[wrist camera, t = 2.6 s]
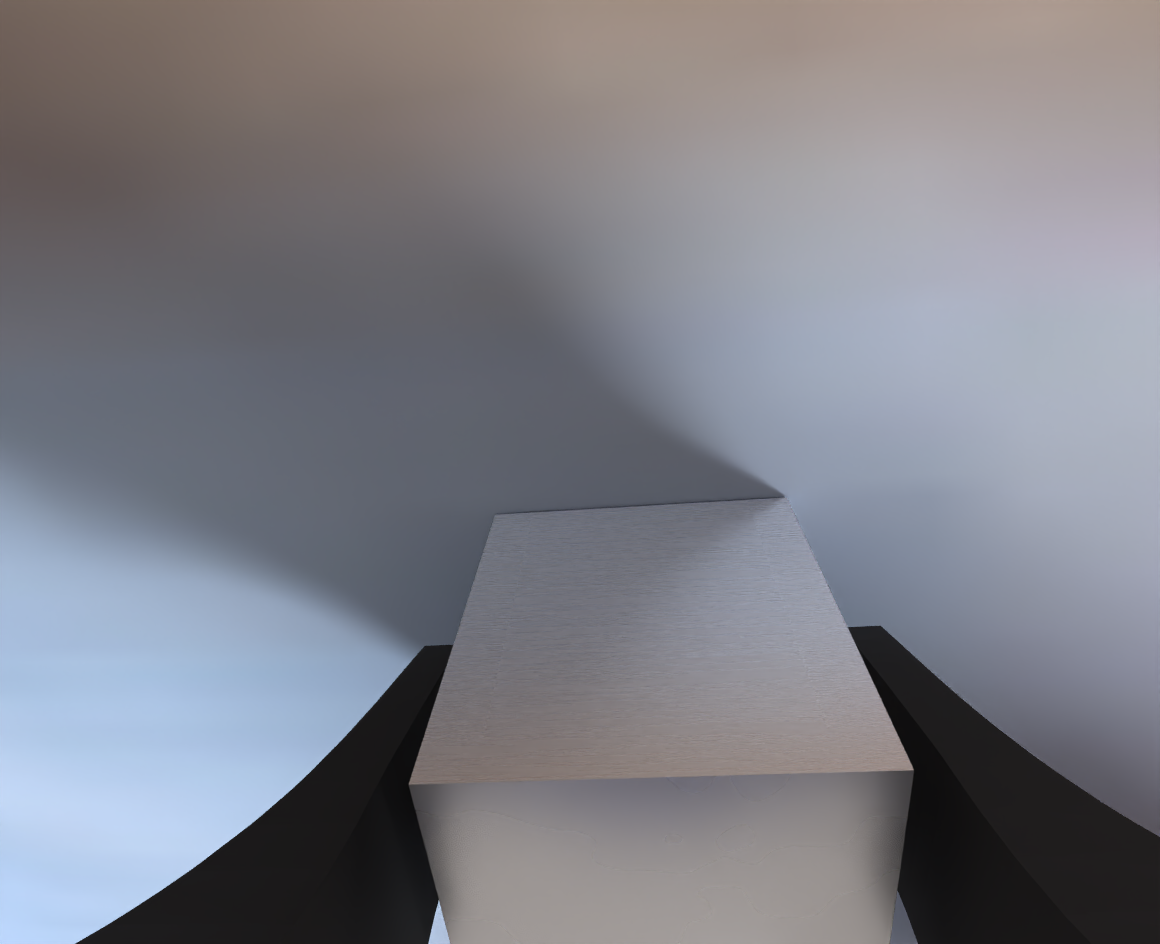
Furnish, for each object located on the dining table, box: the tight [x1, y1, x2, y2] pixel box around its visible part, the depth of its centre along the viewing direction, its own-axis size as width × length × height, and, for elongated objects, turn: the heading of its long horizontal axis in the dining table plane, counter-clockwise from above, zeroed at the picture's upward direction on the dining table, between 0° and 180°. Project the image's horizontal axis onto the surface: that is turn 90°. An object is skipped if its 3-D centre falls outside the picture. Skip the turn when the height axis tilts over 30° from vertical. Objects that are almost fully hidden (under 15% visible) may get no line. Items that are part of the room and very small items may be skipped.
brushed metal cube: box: [409, 497, 914, 944], centre depth 11 cm, size 5×5×6 cm
